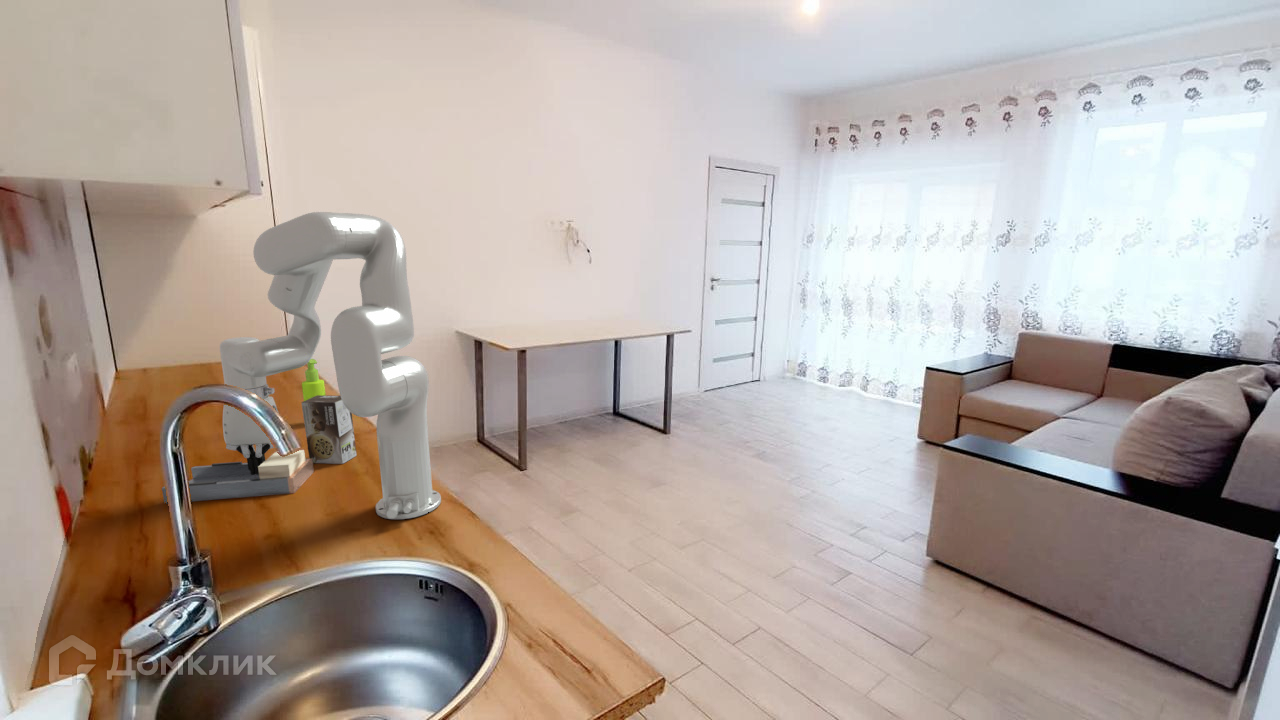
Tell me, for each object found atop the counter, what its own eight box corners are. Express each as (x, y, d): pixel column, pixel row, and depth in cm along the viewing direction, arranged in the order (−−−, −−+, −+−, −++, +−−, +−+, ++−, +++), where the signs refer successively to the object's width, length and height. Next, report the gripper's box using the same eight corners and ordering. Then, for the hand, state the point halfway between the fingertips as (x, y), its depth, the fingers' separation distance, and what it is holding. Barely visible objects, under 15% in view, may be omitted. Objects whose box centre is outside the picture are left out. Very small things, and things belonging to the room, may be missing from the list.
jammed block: (291, 485, 125) (288, 464, 124) (261, 488, 124) (257, 466, 123) (306, 469, 134) (304, 449, 133) (278, 471, 133) (276, 451, 132)
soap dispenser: (310, 428, 168) (302, 362, 164) (304, 423, 173) (296, 359, 169) (332, 424, 172) (324, 359, 168) (325, 419, 177) (318, 356, 173)
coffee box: (357, 455, 147) (351, 395, 143) (342, 464, 140) (335, 402, 137) (324, 454, 148) (317, 394, 144) (308, 463, 141) (300, 401, 138)
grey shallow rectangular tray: (294, 493, 124) (292, 476, 124) (164, 503, 120) (161, 486, 119) (313, 472, 136) (311, 456, 135) (196, 480, 131) (193, 464, 130)
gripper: (291, 388, 129) (300, 463, 133) (217, 391, 126) (228, 468, 130) (278, 397, 122) (288, 476, 126) (199, 400, 119) (211, 481, 123)
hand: (257, 472), depth 128 cm, fingers closed
